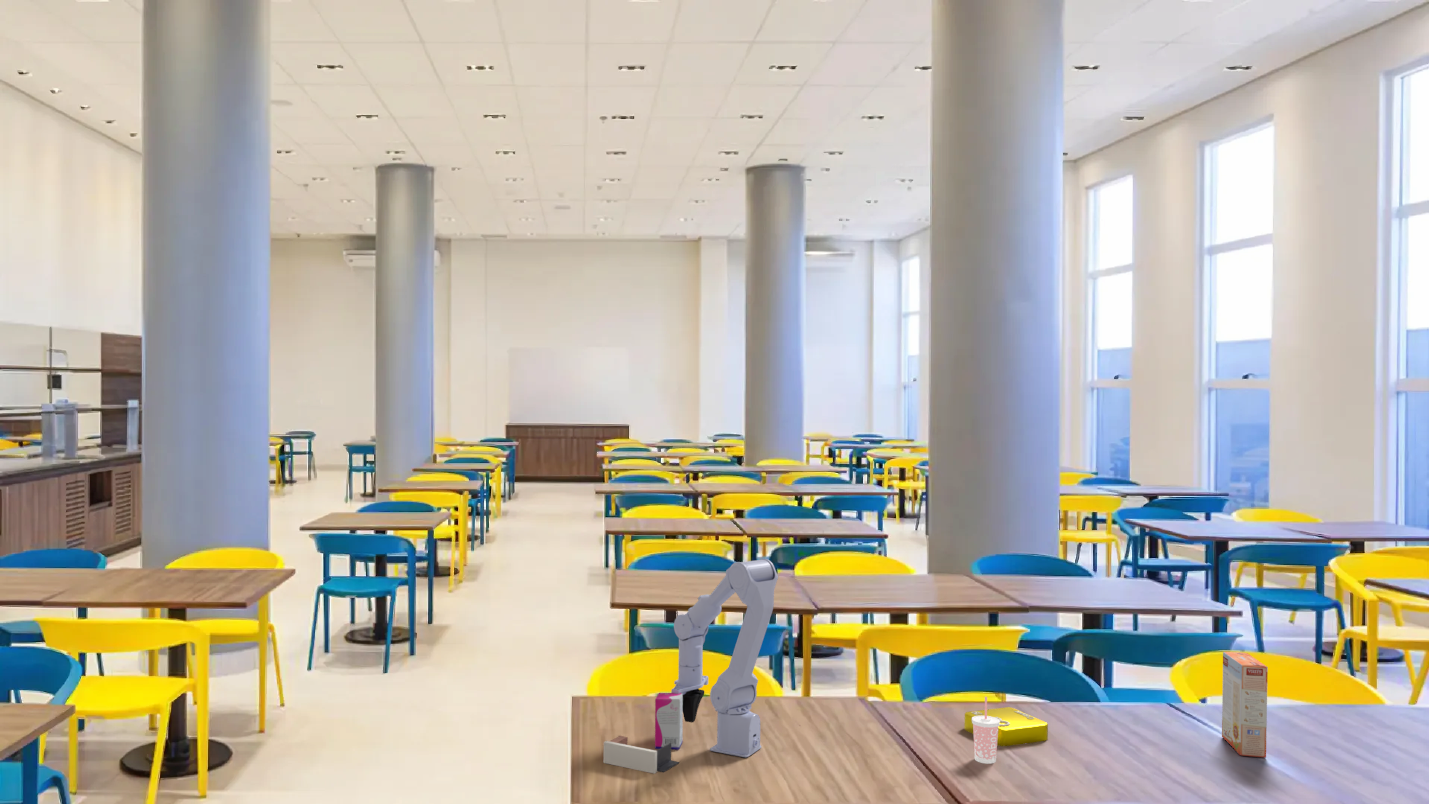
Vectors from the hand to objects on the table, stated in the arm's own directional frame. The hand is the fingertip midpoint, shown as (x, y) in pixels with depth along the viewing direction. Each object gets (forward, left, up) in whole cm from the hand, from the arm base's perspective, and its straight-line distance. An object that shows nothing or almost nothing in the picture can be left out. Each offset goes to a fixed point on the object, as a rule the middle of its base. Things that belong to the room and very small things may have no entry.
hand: (689, 721), depth 238 cm
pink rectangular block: (+6, +22, -3) cm, 23 cm away
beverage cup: (-66, -17, -3) cm, 68 cm away
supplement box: (0, +10, -3) cm, 10 cm away
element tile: (-66, -38, -4) cm, 76 cm away
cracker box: (-117, -56, -3) cm, 130 cm away
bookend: (-7, +22, -3) cm, 23 cm away
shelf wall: (0, +26, -3) cm, 26 cm away
